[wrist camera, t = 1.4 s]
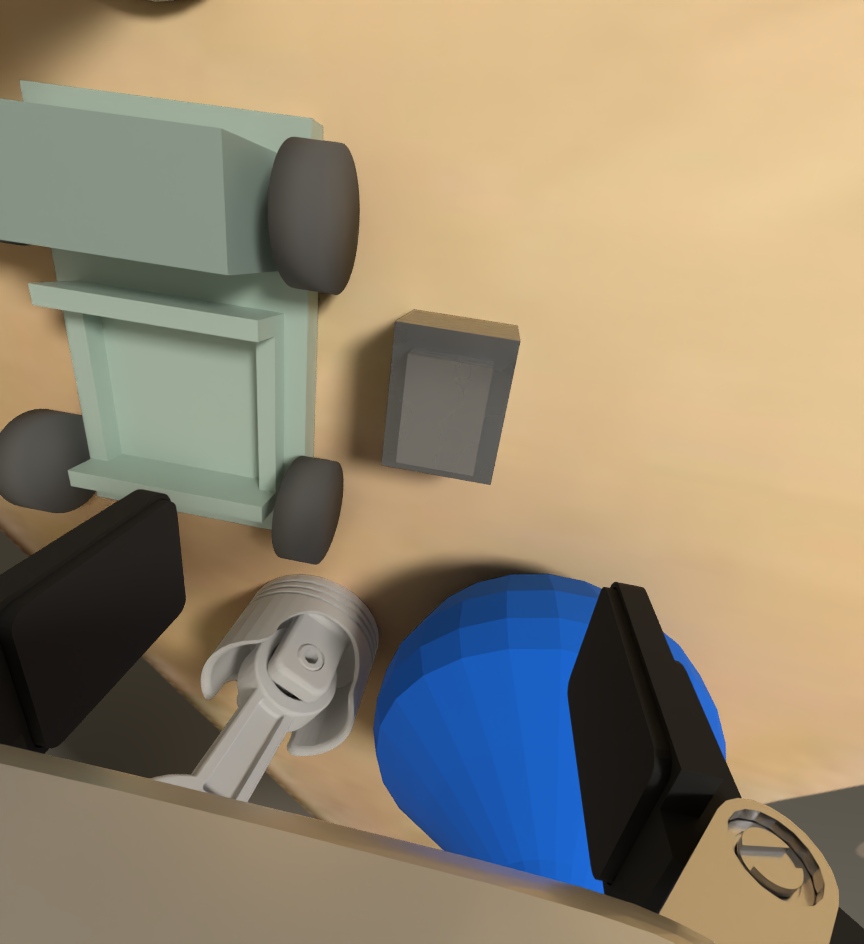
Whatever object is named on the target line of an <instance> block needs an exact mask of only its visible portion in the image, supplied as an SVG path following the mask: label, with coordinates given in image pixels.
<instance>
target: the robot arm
mask: <svg viewBox="0 0 864 944" xmlns="http://www.w3.org/2000/svg"><path fill="white" fill-rule="evenodd" d="M148 1H154V2H160V1H172V0H148ZM185 601H186V595H185V586H184V576H183V566H182V556H181V546H180V537H179V527H178V517H177V508H176V505H175V503H173V502H171V500H170V498H169V496H168V495H166V494H164V493H159V492H154V491H149V490H144V489H137V490H135V491H133V492H132V493H130V494H128V495H127V496H125V497H124V498H122V499H120V500H119V501H117V502H116V503H114V504H112V505H111V506H109V507H108V508H106V509H104V510H103V511H101V512H100V513H98V514H97V515H95V516H93V517H92V518H90V519H89V520H87V521H85V522H84V523H82V524H81V525H79V526H77V527H76V528H74V529H73V530H71V531H69V532H68V533H66V534H65V535H63V536H61V537H60V538H58V539H57V540H55V541H54V542H52V543H50V544H49V545H47V546H46V547H44V548H42V549H41V550H39V551H38V552H36V553H34V554H33V555H31V556H30V557H28V558H27V559H25V560H23V561H22V562H20V563H18V564H17V565H15V566H14V567H12V568H11V569H9V570H7V571H6V572H4V573H3V574H1V575H0V944H864V929H863V928H862V927H861V926H860V925H859V924H858V923H857V922H855V921H854V920H853V919H852V918H851V917H850V916H849V915H847V914H846V913H845V912H844V911H843V910H842V909H841V908H839V890H838V887H837V884H836V881H835V878H834V875H833V872H832V870H831V868H830V867H829V865H828V863H827V862H826V860H825V858H824V857H823V855H822V853H821V852H820V851H819V850H818V848H817V847H816V846H815V845H814V843H813V842H812V841H811V840H810V839H809V837H808V836H807V835H806V834H805V833H804V832H803V831H802V830H800V829H799V828H798V827H797V826H796V825H795V824H794V823H792V822H791V821H790V820H789V819H788V818H786V817H784V816H783V815H782V814H780V813H779V812H777V811H775V810H774V809H772V808H771V807H768V806H766V805H764V804H761V803H759V802H757V801H754V800H749V799H742V798H741V796H740V793H739V791H738V789H737V786H736V784H735V782H734V779H733V777H732V775H731V772H730V770H729V768H728V766H727V763H726V761H725V759H724V756H723V754H722V752H721V749H720V747H719V745H718V742H717V740H716V738H715V736H714V733H713V731H712V729H711V726H710V724H709V722H708V719H707V717H706V715H705V712H704V710H703V708H702V705H701V703H700V701H699V699H698V696H697V694H696V692H695V689H694V687H693V685H692V682H691V680H690V678H689V675H688V673H687V671H686V669H685V668H684V666H683V664H681V663H680V662H679V661H676V660H674V657H673V655H672V653H671V650H670V648H669V645H668V643H667V641H666V638H665V636H664V633H663V631H662V629H661V626H660V624H659V621H658V619H657V616H656V614H655V612H654V609H653V607H652V604H651V602H650V600H649V597H648V595H647V592H646V590H645V589H644V588H643V587H639V586H634V585H629V584H624V583H618V582H614V583H613V584H612V585H611V587H610V588H607V587H603V588H602V589H601V591H600V594H599V597H598V599H597V602H596V605H595V608H594V611H593V614H592V616H591V619H590V622H589V625H588V628H587V630H586V633H585V636H584V639H583V642H582V644H581V647H580V650H579V653H578V656H577V659H576V661H575V664H574V667H573V670H572V673H571V675H570V678H569V682H568V690H567V696H568V705H569V712H570V719H571V727H572V734H573V741H574V749H575V756H576V763H577V771H578V778H579V785H580V792H581V800H582V807H583V814H584V822H585V829H586V836H587V844H588V851H589V858H590V866H591V871H592V874H593V877H594V878H595V879H596V880H600V881H602V882H603V889H604V894H602V893H598V892H595V891H592V890H589V889H586V888H583V887H580V886H576V885H572V884H568V883H565V882H561V881H557V880H554V879H550V878H546V877H542V876H539V875H535V874H531V873H527V872H524V871H520V870H516V869H512V868H509V867H505V866H501V865H498V864H494V863H490V862H486V861H483V860H479V859H475V858H471V857H467V856H463V855H459V854H455V853H451V852H447V851H443V850H439V849H435V848H431V847H427V846H423V845H418V844H414V843H410V842H406V841H402V840H398V839H394V838H390V837H386V836H382V835H378V834H374V833H370V832H366V831H362V830H358V829H354V828H350V827H346V826H342V825H338V824H334V823H330V822H326V821H322V820H318V819H313V818H309V817H305V816H301V815H297V814H293V813H289V812H285V811H280V810H276V809H272V808H268V807H264V806H260V805H256V804H251V803H248V802H243V801H239V800H235V799H231V798H227V797H223V796H219V795H214V794H210V793H206V792H202V791H198V790H194V789H190V788H185V787H181V786H177V785H173V784H169V783H165V782H160V781H156V780H152V779H148V778H144V777H139V776H135V775H131V774H126V773H122V772H118V771H114V770H110V769H106V768H101V767H97V766H93V765H88V764H84V763H80V762H76V761H71V760H67V759H63V758H58V757H55V756H50V755H46V754H45V752H46V751H47V750H48V749H49V748H54V747H56V746H58V745H60V744H61V743H62V742H63V741H64V740H65V739H66V738H67V737H68V736H69V734H70V733H71V732H72V731H73V730H74V729H75V728H76V727H77V726H78V725H79V724H80V723H81V722H82V720H83V719H84V718H85V717H86V716H87V715H88V714H89V713H90V712H91V711H92V710H93V708H94V707H95V706H96V705H97V704H98V703H99V702H100V701H101V700H102V699H103V698H104V696H105V695H106V694H107V693H108V692H109V691H110V690H111V689H112V688H113V687H114V686H115V684H116V683H117V682H118V681H119V680H120V679H121V678H122V677H123V676H124V674H125V673H126V672H127V671H128V670H129V669H130V668H131V667H132V666H133V665H134V663H136V661H137V660H138V659H139V658H140V657H141V656H142V655H143V654H144V653H145V652H146V651H147V649H148V648H149V647H150V646H151V645H152V644H153V643H154V642H155V641H156V640H157V639H158V637H159V636H160V635H161V634H162V633H163V632H164V631H165V630H166V629H167V628H168V627H169V625H170V624H171V623H172V622H173V621H174V620H175V619H176V618H177V617H178V616H179V614H180V613H181V612H182V610H183V608H184V605H185Z"/></svg>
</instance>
